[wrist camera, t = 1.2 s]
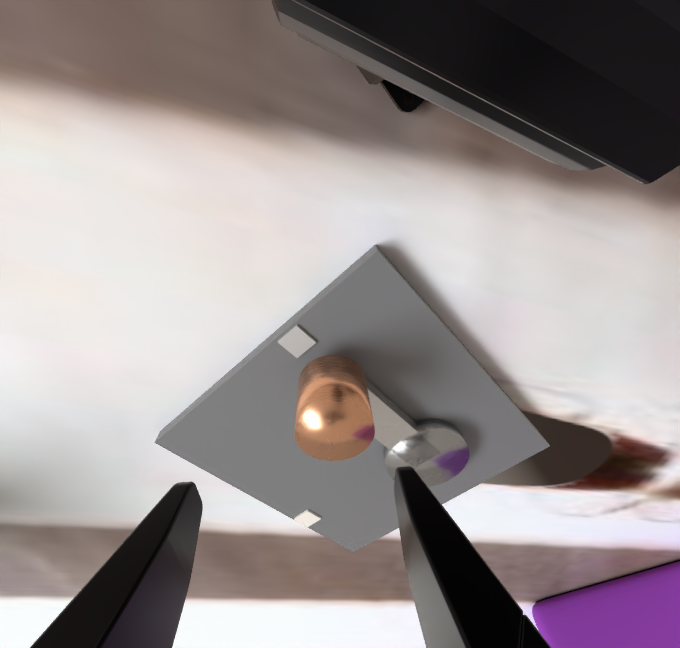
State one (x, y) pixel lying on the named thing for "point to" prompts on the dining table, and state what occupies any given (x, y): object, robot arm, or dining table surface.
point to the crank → (370, 423)
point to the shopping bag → (616, 613)
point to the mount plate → (380, 370)
